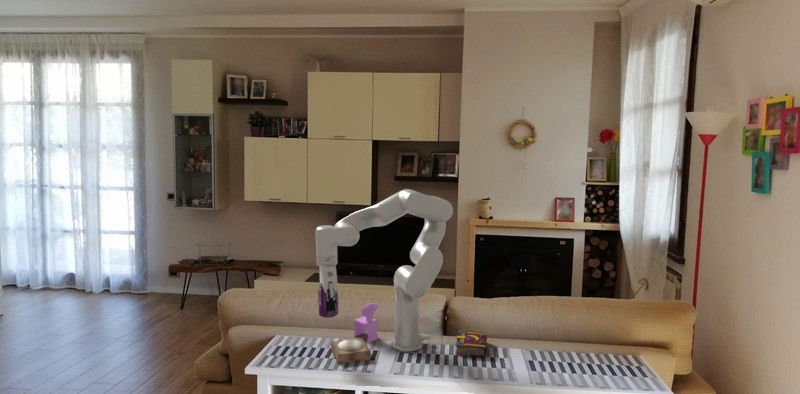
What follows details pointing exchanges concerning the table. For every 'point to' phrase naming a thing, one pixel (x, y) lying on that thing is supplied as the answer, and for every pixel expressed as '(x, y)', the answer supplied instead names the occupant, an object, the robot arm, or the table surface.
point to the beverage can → (322, 303)
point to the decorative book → (471, 343)
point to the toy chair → (367, 323)
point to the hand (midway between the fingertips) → (328, 306)
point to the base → (350, 350)
